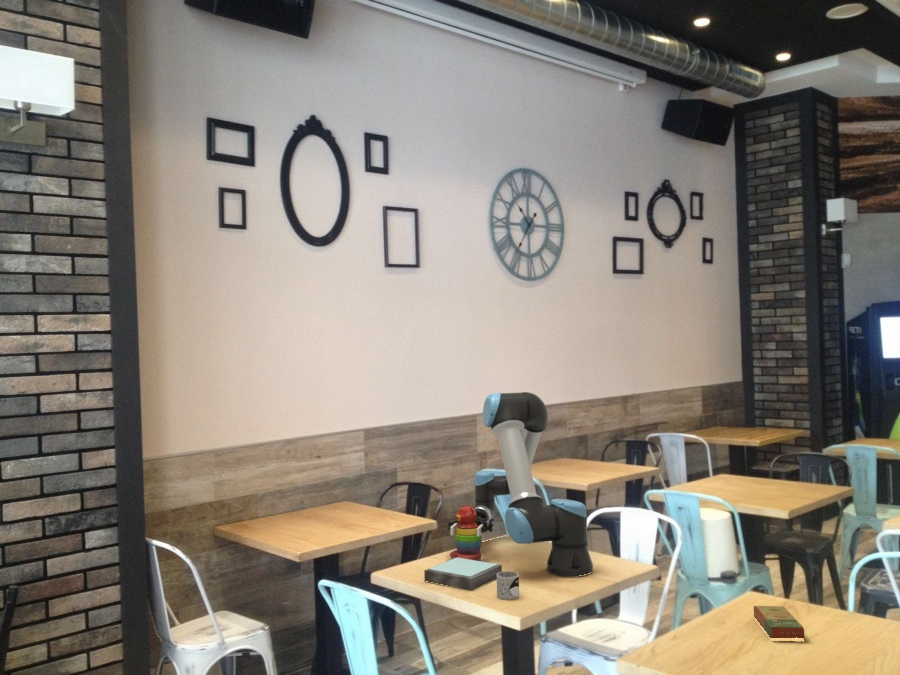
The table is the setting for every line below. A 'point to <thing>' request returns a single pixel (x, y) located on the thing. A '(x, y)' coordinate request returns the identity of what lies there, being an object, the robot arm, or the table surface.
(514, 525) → the robot arm
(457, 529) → the stacking bear
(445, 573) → the plinth
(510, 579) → the mug
